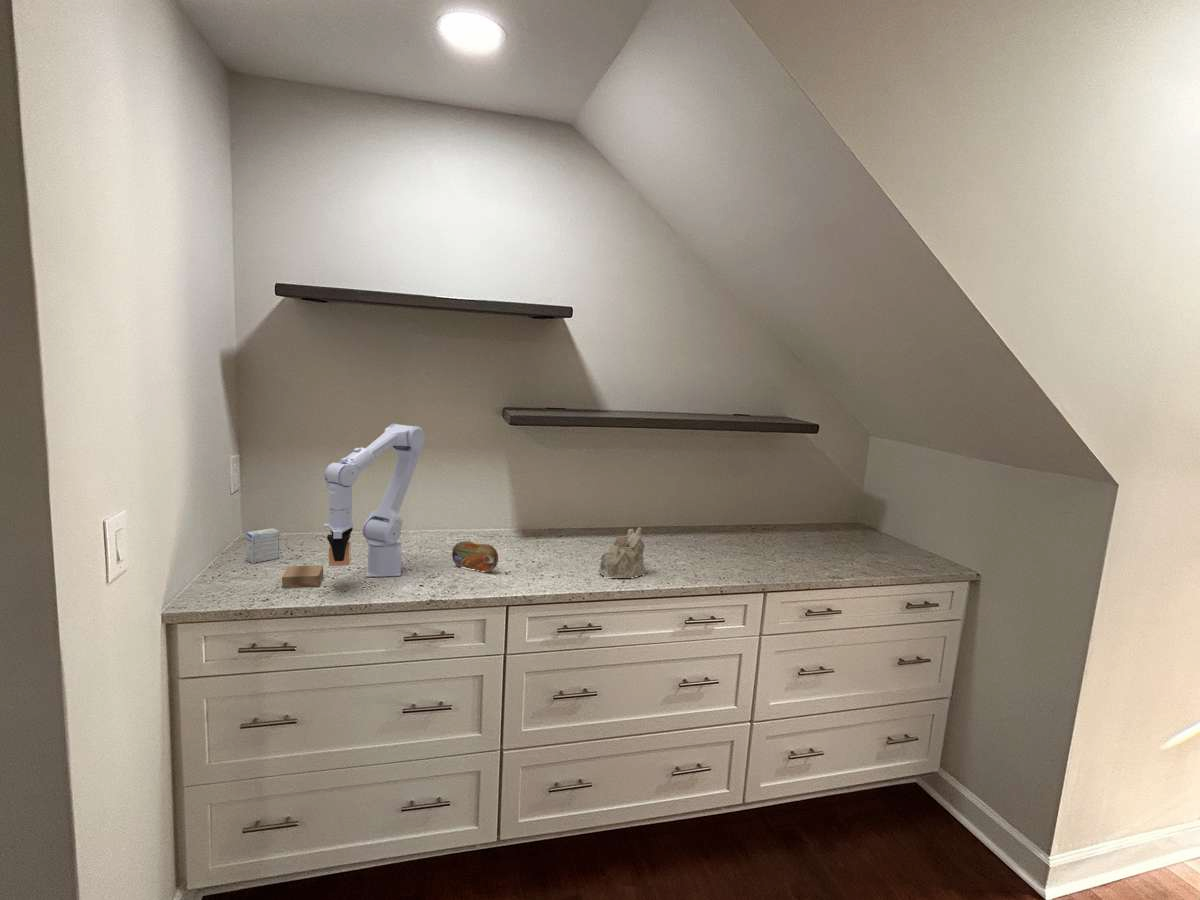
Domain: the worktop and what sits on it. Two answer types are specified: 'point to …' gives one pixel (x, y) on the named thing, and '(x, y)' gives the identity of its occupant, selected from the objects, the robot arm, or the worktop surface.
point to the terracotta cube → (346, 557)
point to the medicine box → (262, 545)
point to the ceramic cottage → (624, 557)
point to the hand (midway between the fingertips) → (340, 557)
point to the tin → (475, 556)
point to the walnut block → (302, 576)
